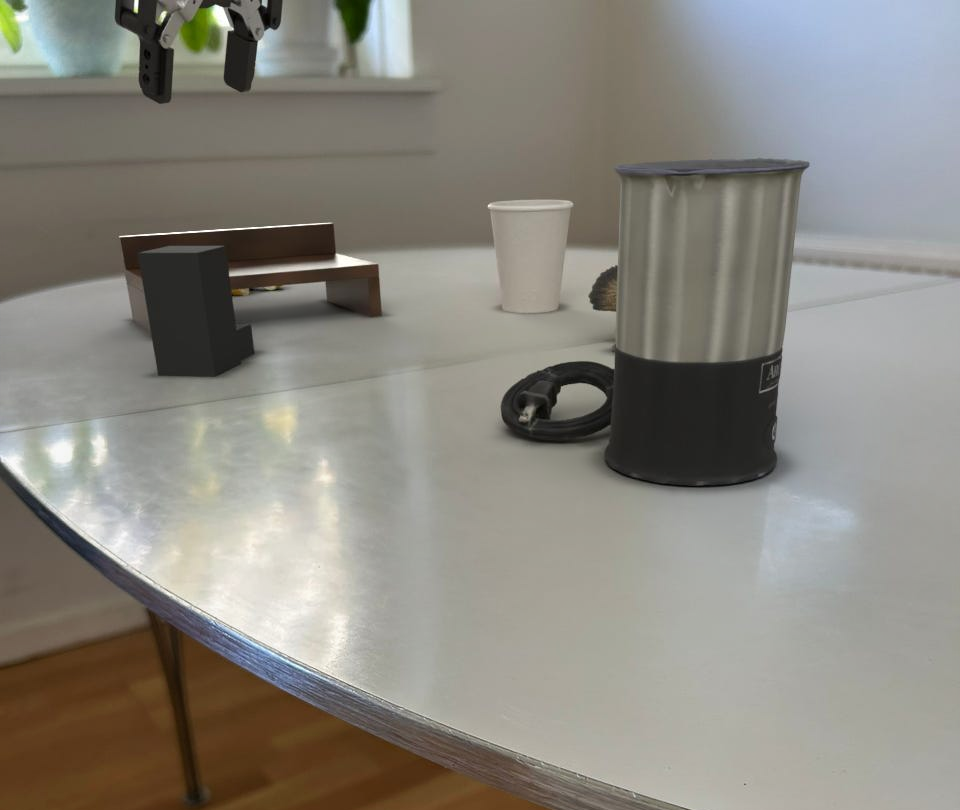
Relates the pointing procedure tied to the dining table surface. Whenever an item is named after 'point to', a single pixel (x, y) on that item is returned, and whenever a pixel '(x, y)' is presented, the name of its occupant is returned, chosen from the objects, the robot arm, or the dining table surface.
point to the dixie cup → (530, 252)
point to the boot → (192, 311)
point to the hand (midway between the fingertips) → (197, 93)
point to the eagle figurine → (605, 292)
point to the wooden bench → (267, 263)
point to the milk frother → (687, 325)
